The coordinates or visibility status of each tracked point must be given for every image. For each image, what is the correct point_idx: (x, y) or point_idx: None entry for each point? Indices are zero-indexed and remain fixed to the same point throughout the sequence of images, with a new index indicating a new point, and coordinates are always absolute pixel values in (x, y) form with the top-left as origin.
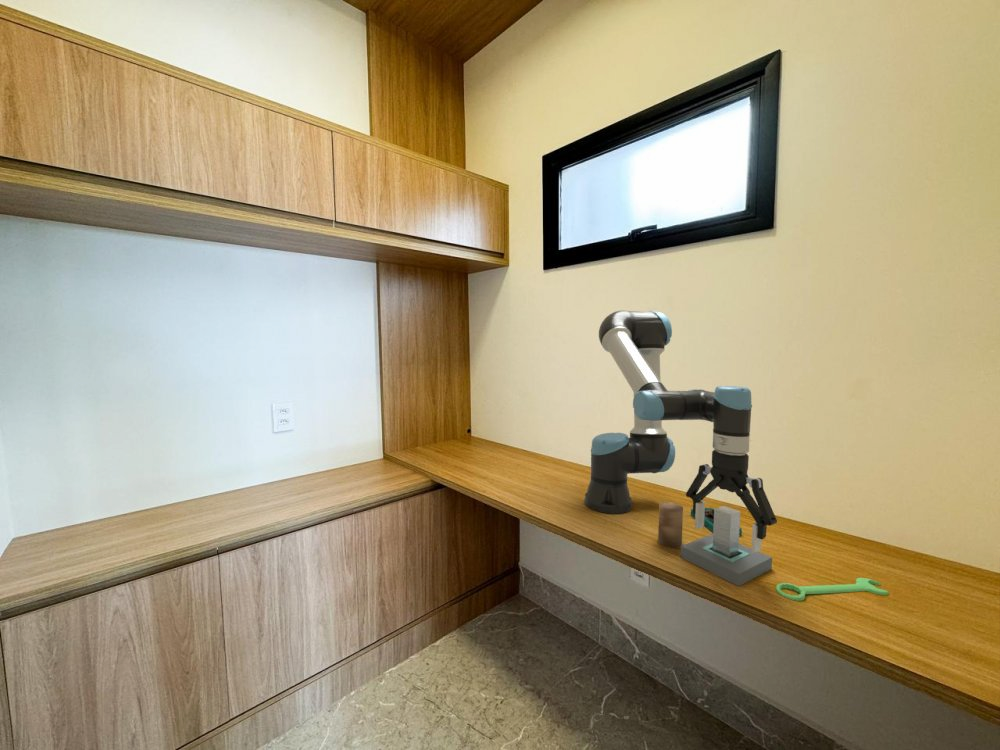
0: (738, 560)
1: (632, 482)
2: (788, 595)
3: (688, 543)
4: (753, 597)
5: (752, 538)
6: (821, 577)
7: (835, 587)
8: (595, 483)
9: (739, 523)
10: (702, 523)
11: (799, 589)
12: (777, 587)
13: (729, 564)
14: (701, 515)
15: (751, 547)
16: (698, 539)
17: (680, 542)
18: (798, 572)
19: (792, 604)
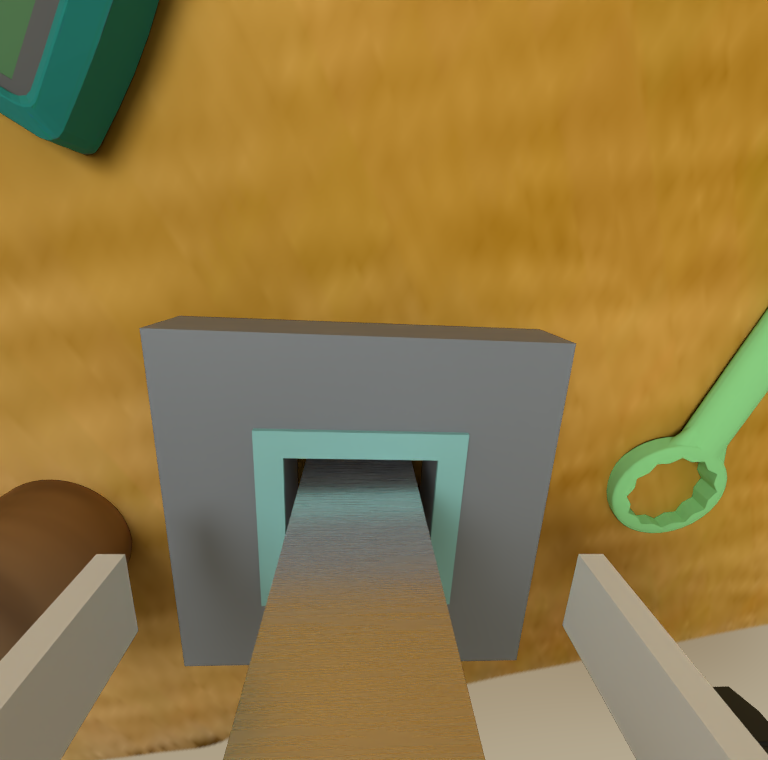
0: (458, 555)
1: None
2: (667, 529)
3: (180, 611)
4: (561, 623)
5: (630, 738)
6: (761, 169)
7: None
8: None
9: (463, 680)
10: (105, 605)
11: (707, 468)
12: (619, 507)
13: None
14: (44, 721)
15: (579, 654)
16: (166, 519)
17: (112, 553)
18: (654, 229)
19: (678, 551)
